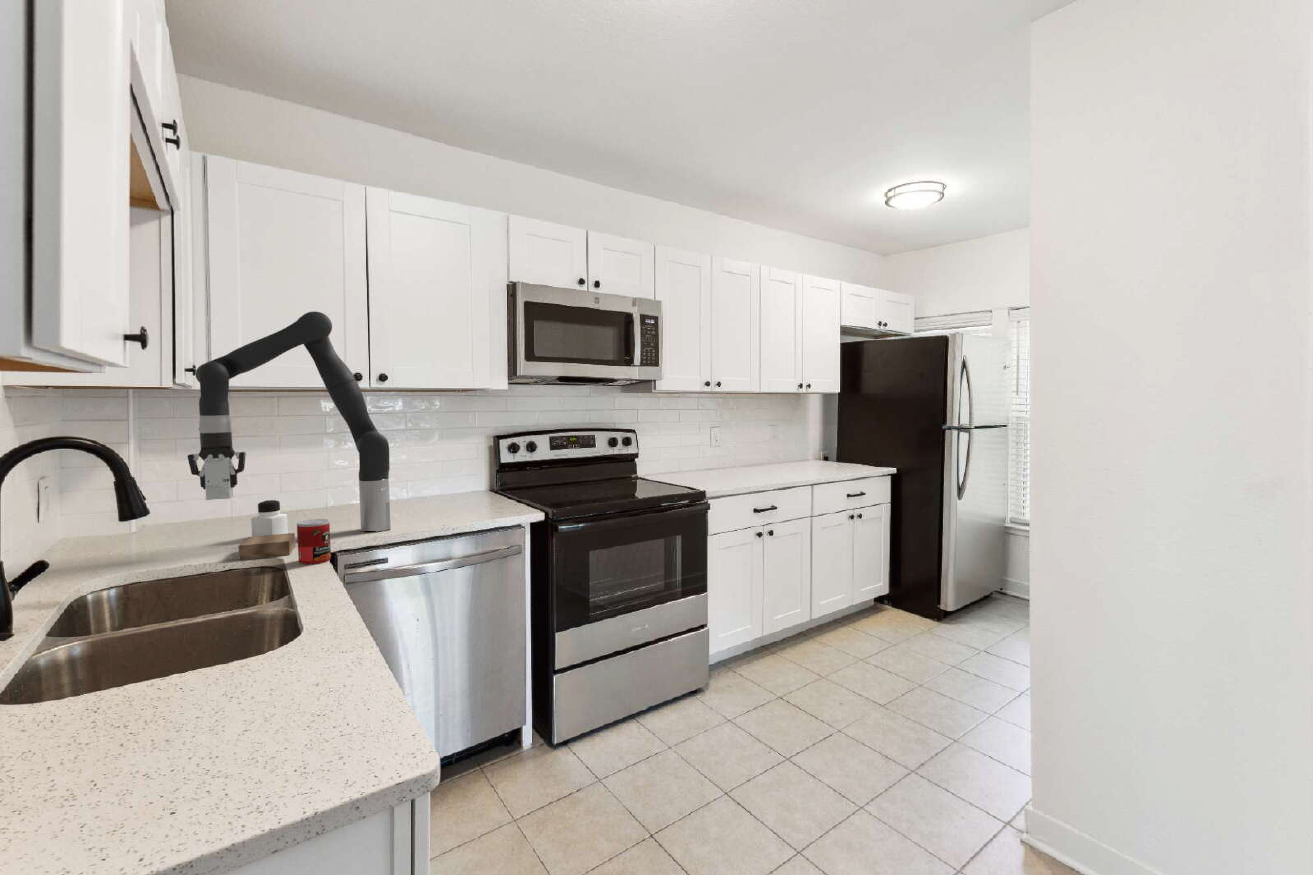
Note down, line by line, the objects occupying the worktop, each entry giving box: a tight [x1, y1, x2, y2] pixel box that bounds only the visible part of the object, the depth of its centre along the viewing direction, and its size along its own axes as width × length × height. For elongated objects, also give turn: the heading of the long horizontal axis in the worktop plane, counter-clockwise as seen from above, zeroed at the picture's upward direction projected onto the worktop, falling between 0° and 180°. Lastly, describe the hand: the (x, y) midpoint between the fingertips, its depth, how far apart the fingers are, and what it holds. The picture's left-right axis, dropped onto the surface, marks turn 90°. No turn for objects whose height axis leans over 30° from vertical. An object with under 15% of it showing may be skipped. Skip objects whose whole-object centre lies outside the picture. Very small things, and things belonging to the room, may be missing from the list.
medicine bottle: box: [250, 499, 289, 537], centre depth 194 cm, size 7×7×12 cm
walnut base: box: [238, 532, 296, 561], centre depth 174 cm, size 12×12×4 cm
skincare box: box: [203, 458, 234, 501], centre depth 176 cm, size 6×4×12 cm
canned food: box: [296, 518, 332, 566], centre depth 164 cm, size 8×8×11 cm
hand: (219, 487), depth 176 cm, fingers closed on skincare box, 6 cm apart
